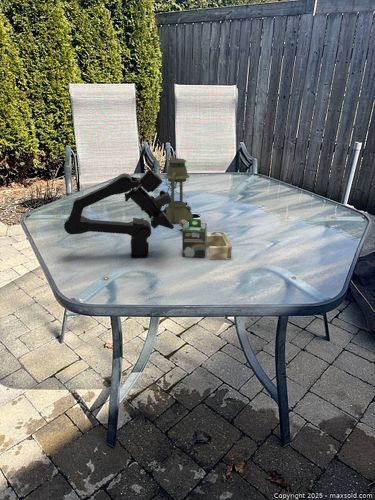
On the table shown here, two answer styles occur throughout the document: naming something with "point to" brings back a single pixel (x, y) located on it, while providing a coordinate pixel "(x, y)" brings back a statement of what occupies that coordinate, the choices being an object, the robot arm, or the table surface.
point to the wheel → (216, 233)
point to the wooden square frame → (218, 246)
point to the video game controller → (182, 222)
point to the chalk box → (194, 239)
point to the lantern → (177, 208)
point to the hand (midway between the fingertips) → (173, 228)
